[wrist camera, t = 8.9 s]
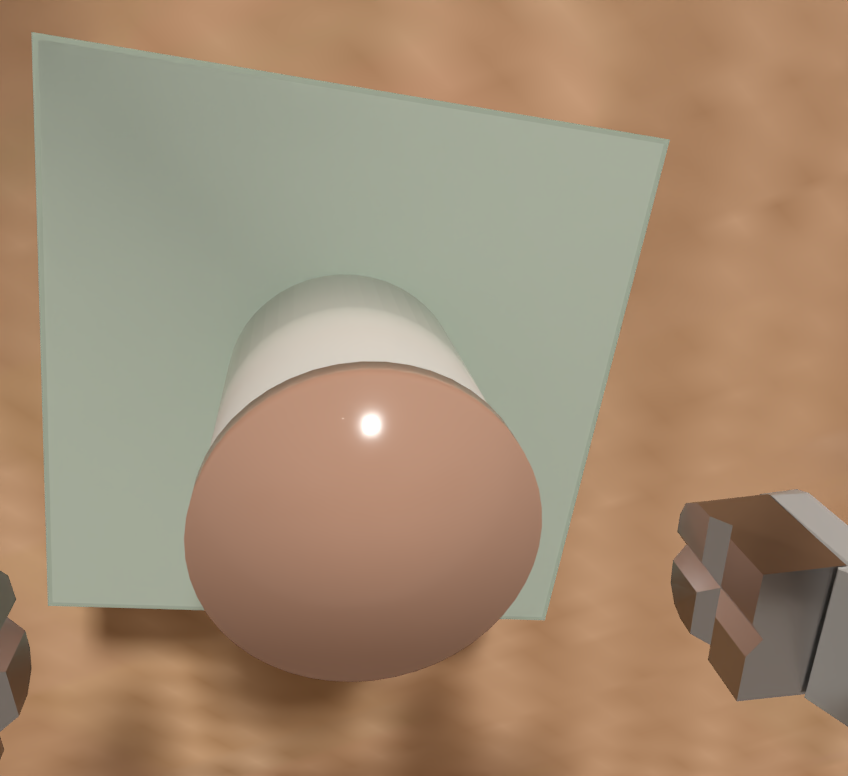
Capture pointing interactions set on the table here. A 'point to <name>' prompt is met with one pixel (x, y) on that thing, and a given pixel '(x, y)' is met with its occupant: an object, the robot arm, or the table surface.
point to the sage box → (299, 277)
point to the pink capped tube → (357, 490)
